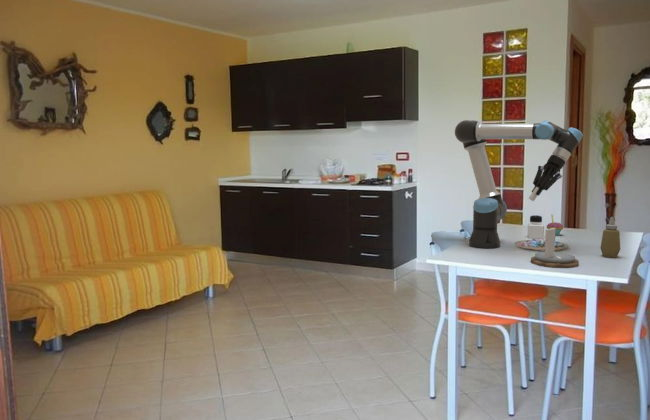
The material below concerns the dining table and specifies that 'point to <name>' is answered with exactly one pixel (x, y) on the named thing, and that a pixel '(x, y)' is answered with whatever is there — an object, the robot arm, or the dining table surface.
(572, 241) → the dining table surface
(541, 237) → the medicine bottle
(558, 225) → the cupcake
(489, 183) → the robot arm
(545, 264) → the base
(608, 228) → the squeeze bottle
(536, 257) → the dial
